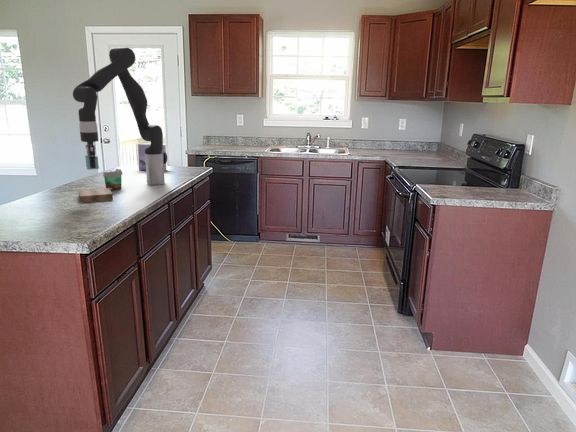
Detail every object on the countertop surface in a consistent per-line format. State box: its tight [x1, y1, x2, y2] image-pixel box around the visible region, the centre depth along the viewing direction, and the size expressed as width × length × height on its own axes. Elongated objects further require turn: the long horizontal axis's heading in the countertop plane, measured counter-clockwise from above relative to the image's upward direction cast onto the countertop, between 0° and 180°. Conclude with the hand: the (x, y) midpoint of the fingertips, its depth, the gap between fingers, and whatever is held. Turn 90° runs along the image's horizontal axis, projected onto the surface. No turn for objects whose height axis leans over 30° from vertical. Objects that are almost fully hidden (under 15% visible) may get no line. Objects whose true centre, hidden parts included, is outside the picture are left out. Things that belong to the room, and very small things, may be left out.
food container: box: [102, 168, 124, 192], centre depth 224 cm, size 12×6×10 cm, turn 168°
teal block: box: [84, 155, 100, 171], centre depth 200 cm, size 5×5×6 cm
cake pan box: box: [137, 143, 168, 171], centre depth 286 cm, size 19×5×18 cm, turn 84°
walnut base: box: [78, 188, 114, 203], centre depth 204 cm, size 14×14×3 cm
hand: (92, 167), depth 200 cm, fingers closed on teal block, 5 cm apart
